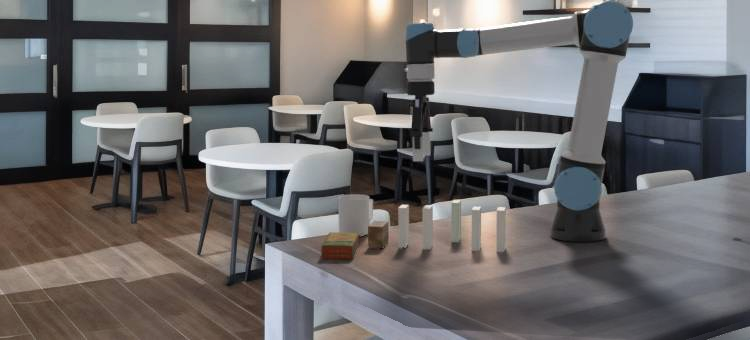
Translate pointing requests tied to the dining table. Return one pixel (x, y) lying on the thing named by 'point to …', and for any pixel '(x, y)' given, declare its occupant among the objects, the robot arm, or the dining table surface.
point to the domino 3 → (456, 220)
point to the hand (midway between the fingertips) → (421, 158)
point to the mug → (355, 213)
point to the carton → (340, 245)
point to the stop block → (378, 234)
